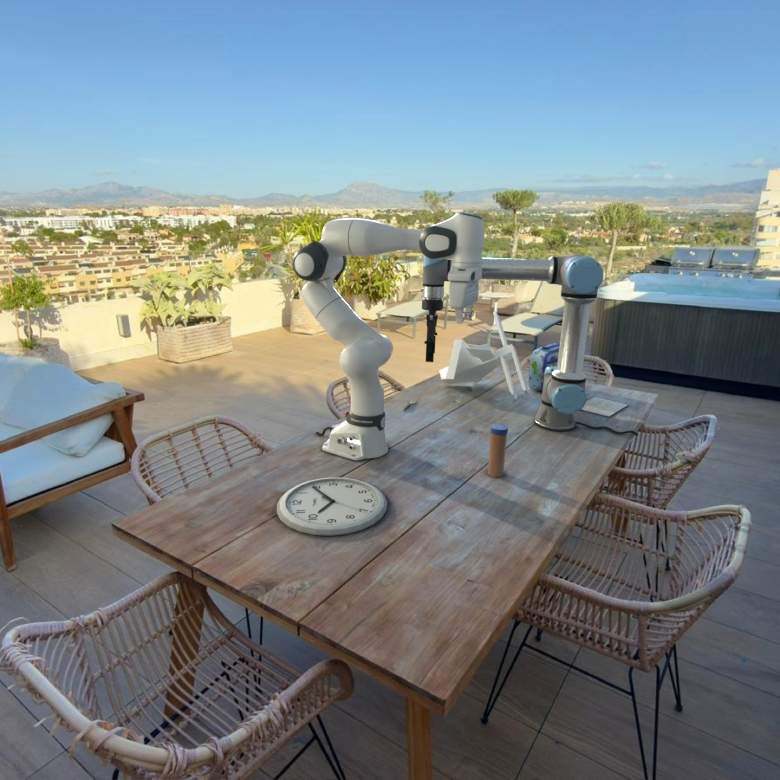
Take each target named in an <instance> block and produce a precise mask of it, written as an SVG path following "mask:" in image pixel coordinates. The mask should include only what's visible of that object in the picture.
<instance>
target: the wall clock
mask: <svg viewBox="0 0 780 780" xmlns="http://www.w3.org/2000/svg"><path fill="white" fill-rule="evenodd" d="M387 509H388V500H387V498H386V496H385V494H384V493H383V492H382V491H381V490H380V489H379V488H377V487H376V486H374V485H372V484H371V483H369V482H365V481H362V480H359V479H355V478H349V477H338V476H337V477H335V476H333V477H332V476H331V477H322V478H317V479H312V480H307V481H305V482H302V483H299V484H297V485H295V486H293V487H292V488H290V489H288V490H287V491H286V492H285V493H284V494H283V495H281V496H280V498H279V499H278V502H277V503H276V515H277V517H278V518H279V520H280V521H281V522H282V523H283V524H285V525H286V526H287V527H288V528H290V529H293V530H295V531H297V532H299V533H303V534H308V535H312V536H327V537H328V536H329V537H331V536H332V537H333V536H342V535H350V534H352V533H356V532H361V531H363V530H366V529H368V528H369V527H372V526H373V525H375V524H376V523H378V522H379V521H380V520H381V519H382V518H383V517H384V516H385V514H386V512H387Z"/></svg>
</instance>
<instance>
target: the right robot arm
mask: <svg viewBox="0 0 780 780" xmlns="http://www.w3.org/2000/svg"><path fill="white" fill-rule="evenodd" d="M482 259H483V268H482V279H481V280H495V281H497V280H499V281H500V280H501V281H526V282H527V281H531V282H546V283H547V284H548V285H557V286H561V289H560V298H561V299H562V300H563V303H564V305H563V313H562V322H561V330H560V339H559V344H560V346H559V355H558V364H557V366H553V367H547V368H546V369H545V373H544V382H543V391H541V392H542V394H541V402H540V405H539V407H538V410H537V411H536V413H535V417H534V424H535V425H536V426H537V427H539V428H542V429H544V430H549V431H556V432H567V431H572V430H574V429H575V428H576V425H579V426H582V427H586V428H588V429H591V430H602V429H603V430H608V431H609V432H611V433H614V434H616V435H626V434H633V435H634V436H639V433H637V432H636V431H634V430H625V431H617V430H615V429H613V428H611V427H609V426H606V425H605V426H604V425H601V426H592V425H589V424H586V423H583V422H581V421H576V418H575V417H576V416H575V414H576V413H579V412H580V411H582V410H581V409H582V408H583V407H584V406H585V404H586V401H588V397H587V392H586V389H585V388H586V383H587V382H586V381H587V375H586V374H585V373H584V371H583V369H584V361H585V355H586V347H587V339H588V338H587V337H588V330H589V324H590V318H591V317H590V316H591V308H592V303H593V302H594V301H596V300H597V298H598V294H599V293H598V291H599V288H601V285H602V284H603V281H604V269H603V267H602V265H601V264H600V262H599V261H597V260H596V259H595V258H594V257H592V256H587V255H581V254H574V255H573V254H572V255H565V256H551V257H549V258H548V259H545V258H544V259H543V258H542V259H541V258H540V259H539V258H501V257H500V258H497V257H496V258H495V257H494V258H492V257H482ZM451 262H452V259H439V260H434V259H430V258H428V257H426V256H425V255H424V254H423V263H422V264H423V265H422V288H420V292H421V293H422V294H421V296H422V299H421V309H422V310H423V311H428V313H426V316H425V320H426V340H424V342H423V343H424V344H425V362H426V363H434V359H435V357H434V356H435V353H436V338H437V337H436V336H438V332H437V329H436V328H437V324H438V318H439V315H438V314H437V311H438V312H439V311H442V310H444V299H443V298H444V297H445V282H447V283H450V281H448V273H449V272H450V270H451Z"/></svg>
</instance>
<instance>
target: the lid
mask: <svg viewBox="0 0 780 780" xmlns="http://www.w3.org/2000/svg"><path fill="white" fill-rule="evenodd" d="M491 433H493V434H496V435H505V434H507V435H508V434H509V426H508V425H506V424H502V423H493V424H491V425H490V434H491Z"/></svg>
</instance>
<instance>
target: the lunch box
mask: <svg viewBox="0 0 780 780" xmlns="http://www.w3.org/2000/svg"><path fill="white" fill-rule="evenodd" d="M559 346H560V343H551V344H548V345H544V346H541V347H538V348H536V349H534V350H533V351H532V353H531V355H530V359H529V370H528V371H529V372H528V389H531V390H536V391H541V392H543V382H544V373H545V369H546V368H547V367H553V366H557V364H558V355H559Z"/></svg>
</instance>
